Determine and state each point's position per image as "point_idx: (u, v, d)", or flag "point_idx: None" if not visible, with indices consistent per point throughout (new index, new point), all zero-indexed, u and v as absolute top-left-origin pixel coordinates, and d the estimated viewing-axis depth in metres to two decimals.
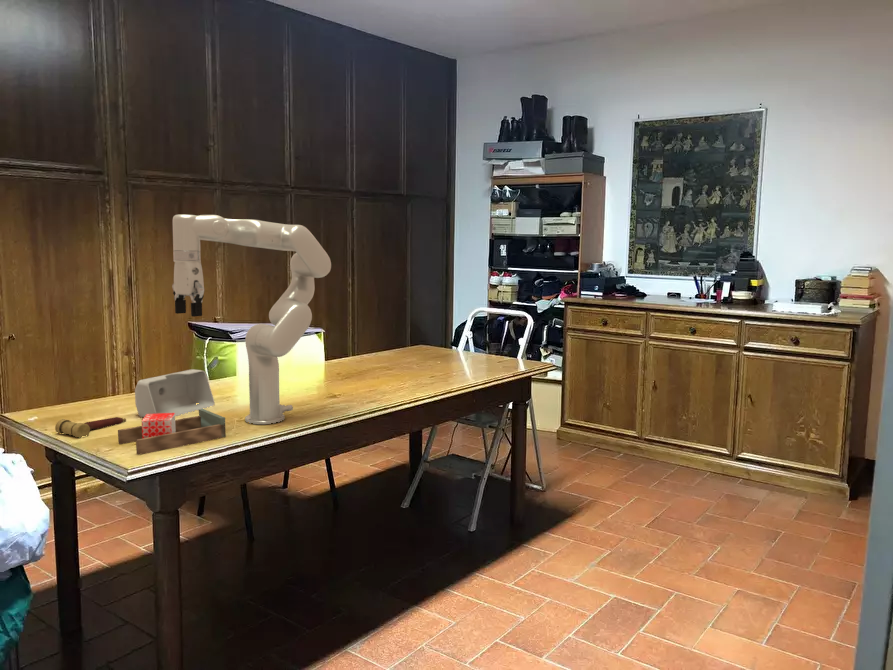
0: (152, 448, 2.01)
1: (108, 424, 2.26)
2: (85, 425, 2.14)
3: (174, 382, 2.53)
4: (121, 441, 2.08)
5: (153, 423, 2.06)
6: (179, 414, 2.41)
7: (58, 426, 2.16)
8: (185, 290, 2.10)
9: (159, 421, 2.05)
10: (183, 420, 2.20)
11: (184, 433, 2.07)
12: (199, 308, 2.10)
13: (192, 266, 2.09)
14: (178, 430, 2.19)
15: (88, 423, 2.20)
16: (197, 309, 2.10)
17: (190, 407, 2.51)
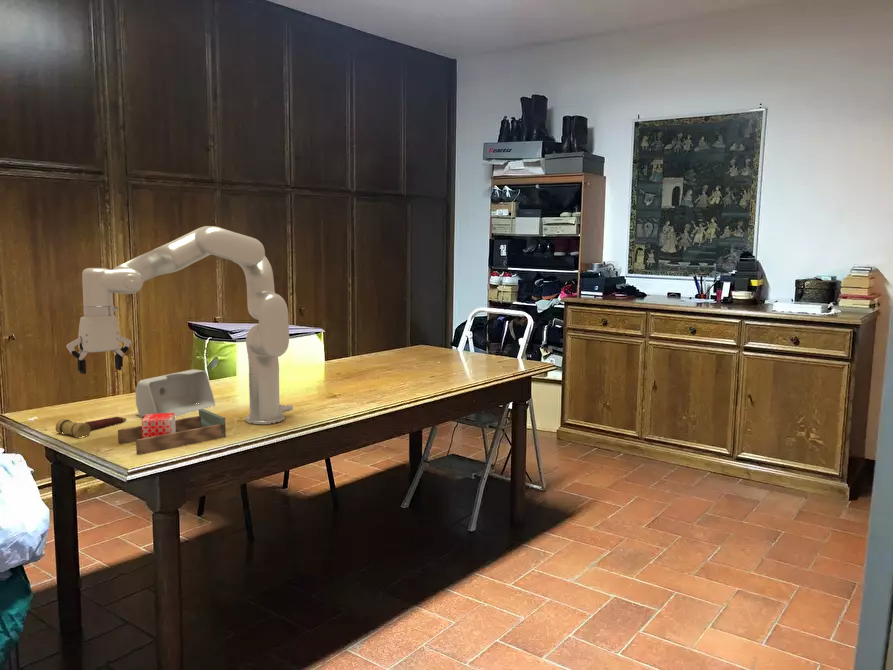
0: (152, 448, 2.01)
1: (108, 424, 2.26)
2: (85, 425, 2.14)
3: (174, 382, 2.53)
4: (121, 441, 2.08)
5: (153, 423, 2.06)
6: (180, 414, 2.41)
7: (58, 426, 2.16)
8: (111, 345, 2.05)
9: (159, 421, 2.05)
10: (183, 420, 2.20)
11: (184, 433, 2.07)
12: None
13: (116, 320, 2.06)
14: (178, 430, 2.19)
15: (88, 423, 2.20)
16: None
17: (191, 407, 2.51)
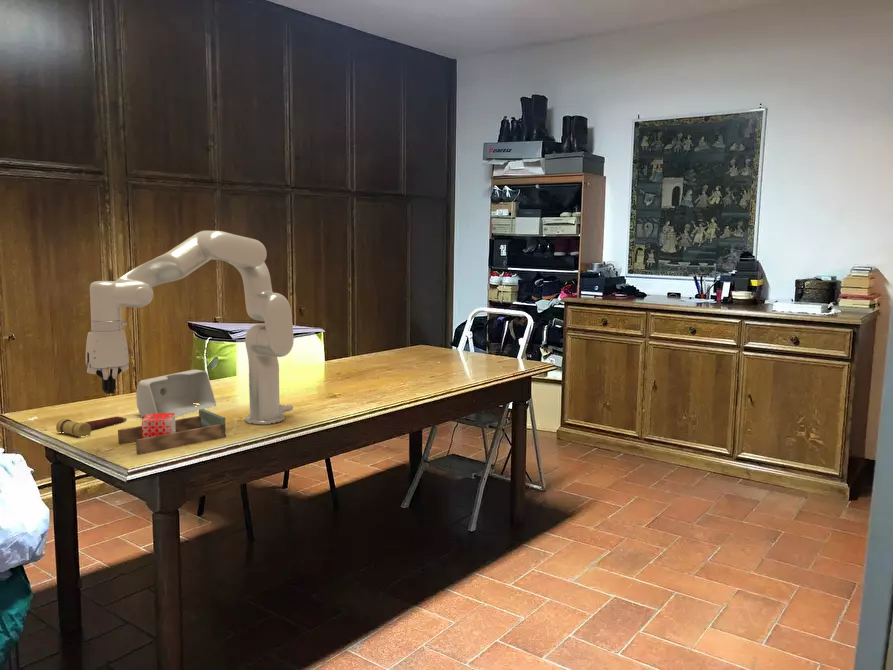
0: (152, 448, 2.01)
1: (109, 423, 2.26)
2: (86, 424, 2.15)
3: (175, 382, 2.53)
4: (121, 441, 2.08)
5: (153, 423, 2.06)
6: (180, 414, 2.41)
7: (59, 426, 2.16)
8: (120, 361, 1.97)
9: (159, 421, 2.05)
10: (183, 420, 2.20)
11: (184, 433, 2.07)
12: None
13: None
14: (178, 430, 2.19)
15: (89, 422, 2.20)
16: None
17: (191, 407, 2.51)
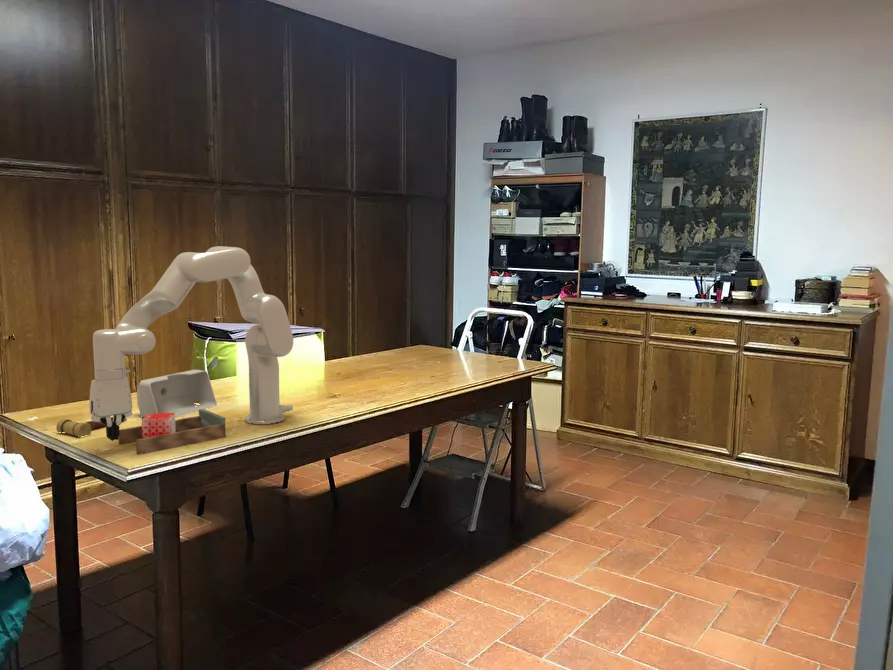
0: (152, 448, 2.01)
1: None
2: (87, 424, 2.15)
3: (176, 382, 2.53)
4: (121, 441, 2.08)
5: (153, 423, 2.06)
6: (181, 414, 2.41)
7: (59, 426, 2.16)
8: (124, 408, 1.99)
9: (159, 421, 2.05)
10: (183, 420, 2.20)
11: (184, 433, 2.07)
12: None
13: None
14: (178, 430, 2.19)
15: (89, 422, 2.20)
16: None
17: (192, 407, 2.50)
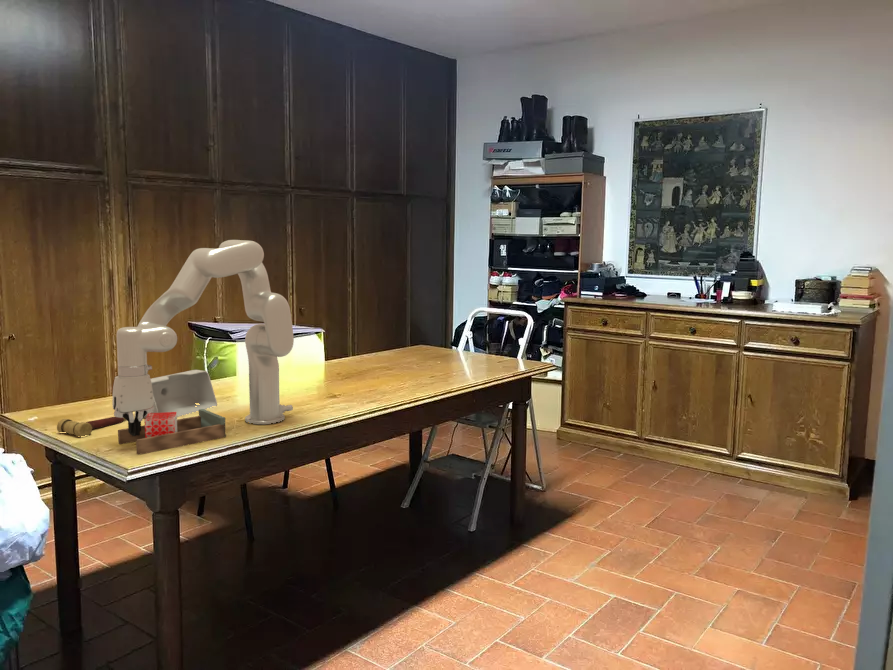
0: (152, 448, 2.01)
1: (109, 423, 2.26)
2: (87, 424, 2.15)
3: (176, 383, 2.52)
4: (121, 441, 2.08)
5: (156, 422, 2.06)
6: (181, 415, 2.41)
7: (59, 425, 2.16)
8: (146, 404, 2.03)
9: (162, 420, 2.06)
10: (183, 420, 2.20)
11: (184, 433, 2.07)
12: None
13: None
14: (178, 430, 2.19)
15: (90, 422, 2.21)
16: None
17: (193, 408, 2.50)
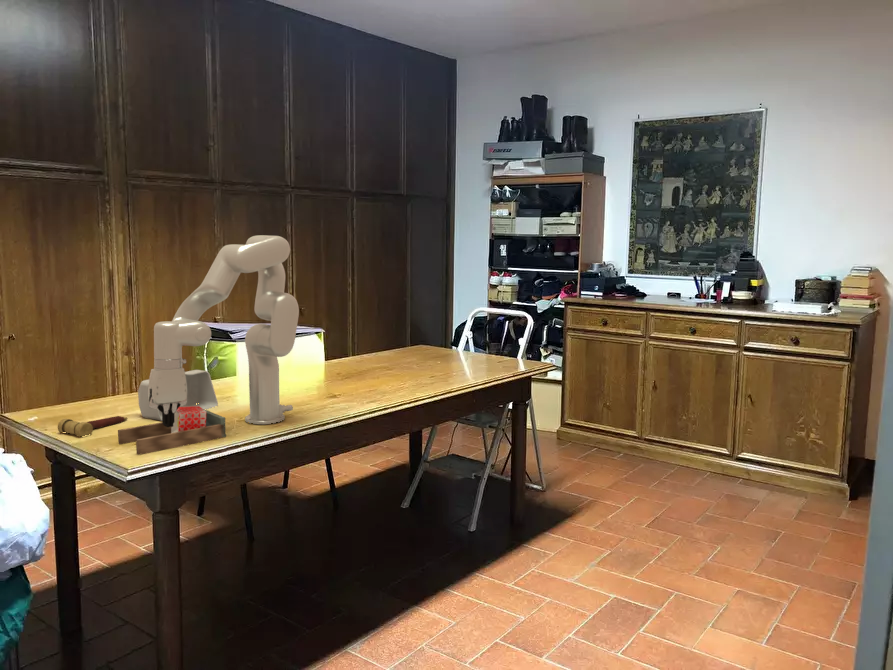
0: (152, 448, 2.01)
1: (110, 423, 2.27)
2: (88, 424, 2.15)
3: None
4: (121, 441, 2.08)
5: (188, 415, 2.13)
6: None
7: (60, 425, 2.16)
8: (179, 397, 2.10)
9: (195, 413, 2.13)
10: None
11: (184, 433, 2.07)
12: None
13: None
14: None
15: (90, 422, 2.21)
16: None
17: None
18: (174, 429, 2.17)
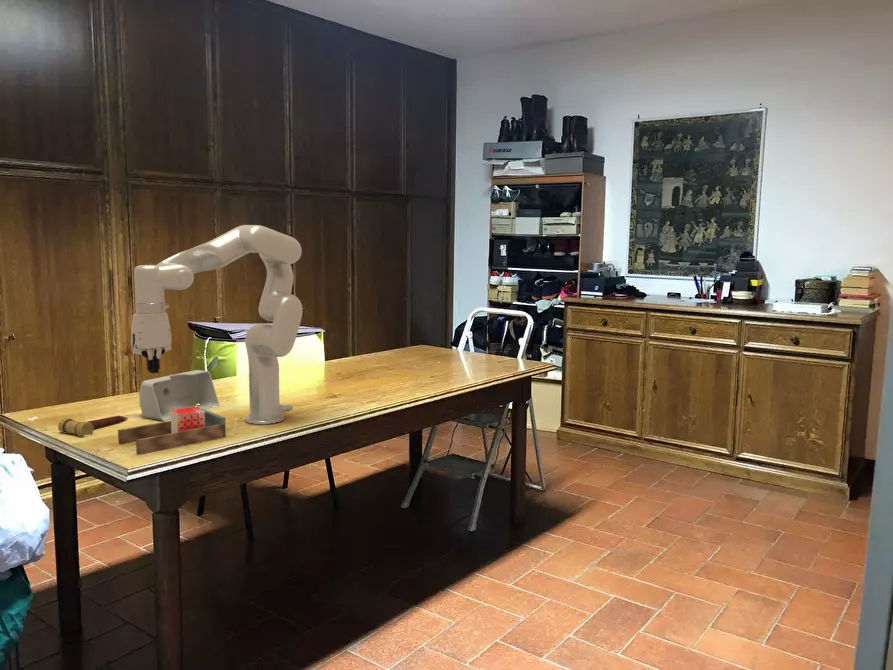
0: (152, 448, 2.01)
1: (110, 423, 2.27)
2: (89, 424, 2.16)
3: (178, 383, 2.52)
4: (121, 441, 2.08)
5: (187, 417, 2.13)
6: None
7: (61, 425, 2.17)
8: (164, 342, 2.05)
9: (193, 414, 2.13)
10: None
11: (184, 433, 2.07)
12: None
13: None
14: None
15: (91, 422, 2.21)
16: None
17: None
18: (174, 431, 2.17)
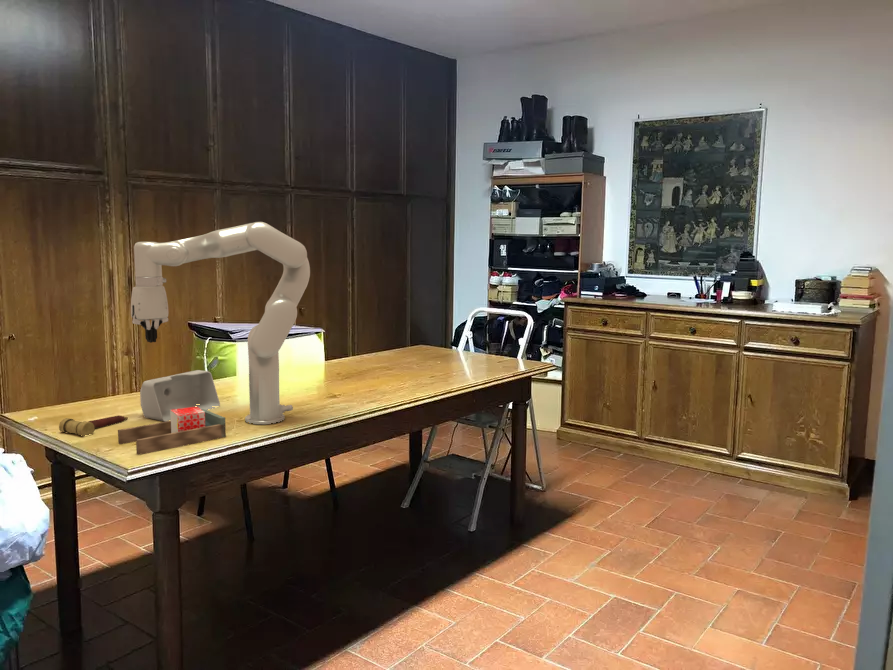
0: (152, 448, 2.01)
1: (111, 422, 2.27)
2: (90, 423, 2.16)
3: (179, 383, 2.52)
4: (121, 441, 2.08)
5: (187, 417, 2.13)
6: None
7: (62, 425, 2.17)
8: (161, 313, 2.21)
9: (193, 414, 2.13)
10: None
11: (184, 433, 2.07)
12: None
13: None
14: None
15: (91, 422, 2.22)
16: None
17: None
18: (174, 431, 2.17)
